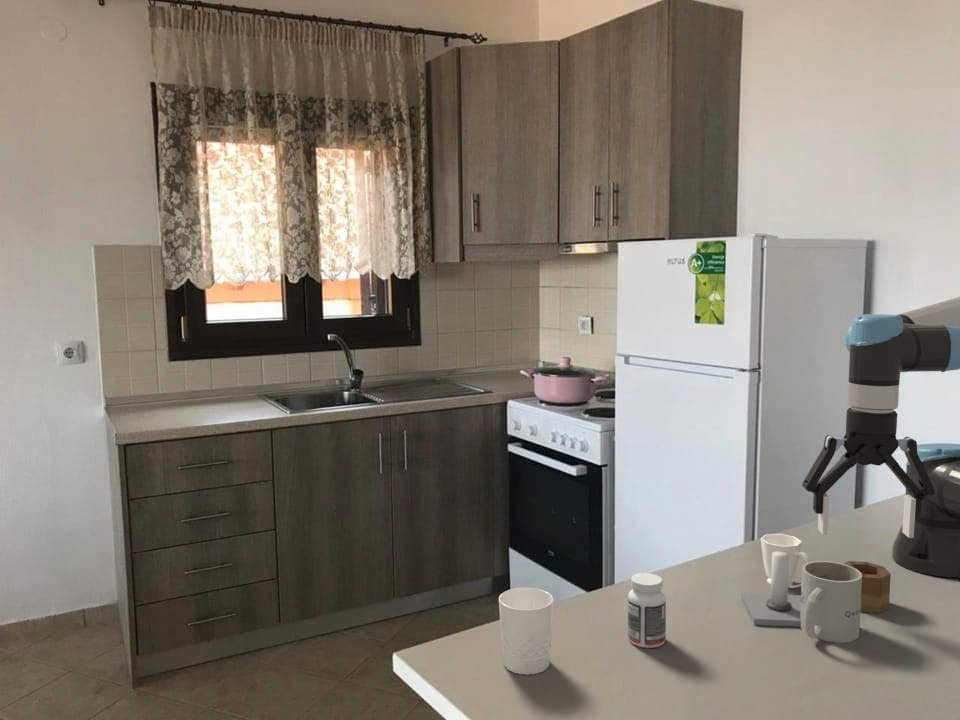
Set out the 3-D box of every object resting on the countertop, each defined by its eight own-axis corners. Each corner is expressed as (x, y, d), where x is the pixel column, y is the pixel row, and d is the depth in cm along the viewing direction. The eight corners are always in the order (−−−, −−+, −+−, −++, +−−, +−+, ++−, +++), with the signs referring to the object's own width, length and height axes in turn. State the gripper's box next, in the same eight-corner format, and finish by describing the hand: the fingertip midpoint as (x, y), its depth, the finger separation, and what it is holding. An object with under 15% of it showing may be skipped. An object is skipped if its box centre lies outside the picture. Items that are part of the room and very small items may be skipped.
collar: (877, 595, 139) (879, 562, 138) (893, 613, 132) (895, 578, 131) (834, 593, 140) (835, 560, 139) (847, 611, 133) (849, 576, 132)
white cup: (537, 683, 112) (537, 614, 111) (489, 668, 116) (488, 602, 115) (562, 659, 119) (562, 594, 117) (516, 646, 123) (515, 583, 121)
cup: (777, 572, 150) (778, 530, 149) (823, 591, 141) (825, 546, 140) (750, 580, 147) (752, 537, 146) (796, 599, 138) (798, 554, 137)
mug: (820, 615, 133) (823, 557, 132) (870, 635, 126) (873, 573, 124) (773, 635, 126) (775, 573, 125) (823, 657, 119) (826, 592, 118)
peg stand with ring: (801, 601, 137) (803, 544, 136) (819, 627, 127) (821, 566, 126) (741, 598, 139) (742, 542, 137) (753, 624, 129) (755, 564, 127)
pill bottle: (667, 635, 126) (668, 574, 124) (663, 651, 120) (664, 588, 119) (630, 629, 128) (631, 569, 126) (624, 646, 122) (625, 583, 121)
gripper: (942, 406, 134) (934, 528, 137) (787, 403, 137) (782, 523, 140) (963, 414, 127) (954, 544, 129) (799, 411, 130) (793, 538, 132)
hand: (864, 533), depth 135 cm, fingers open, 13 cm apart
